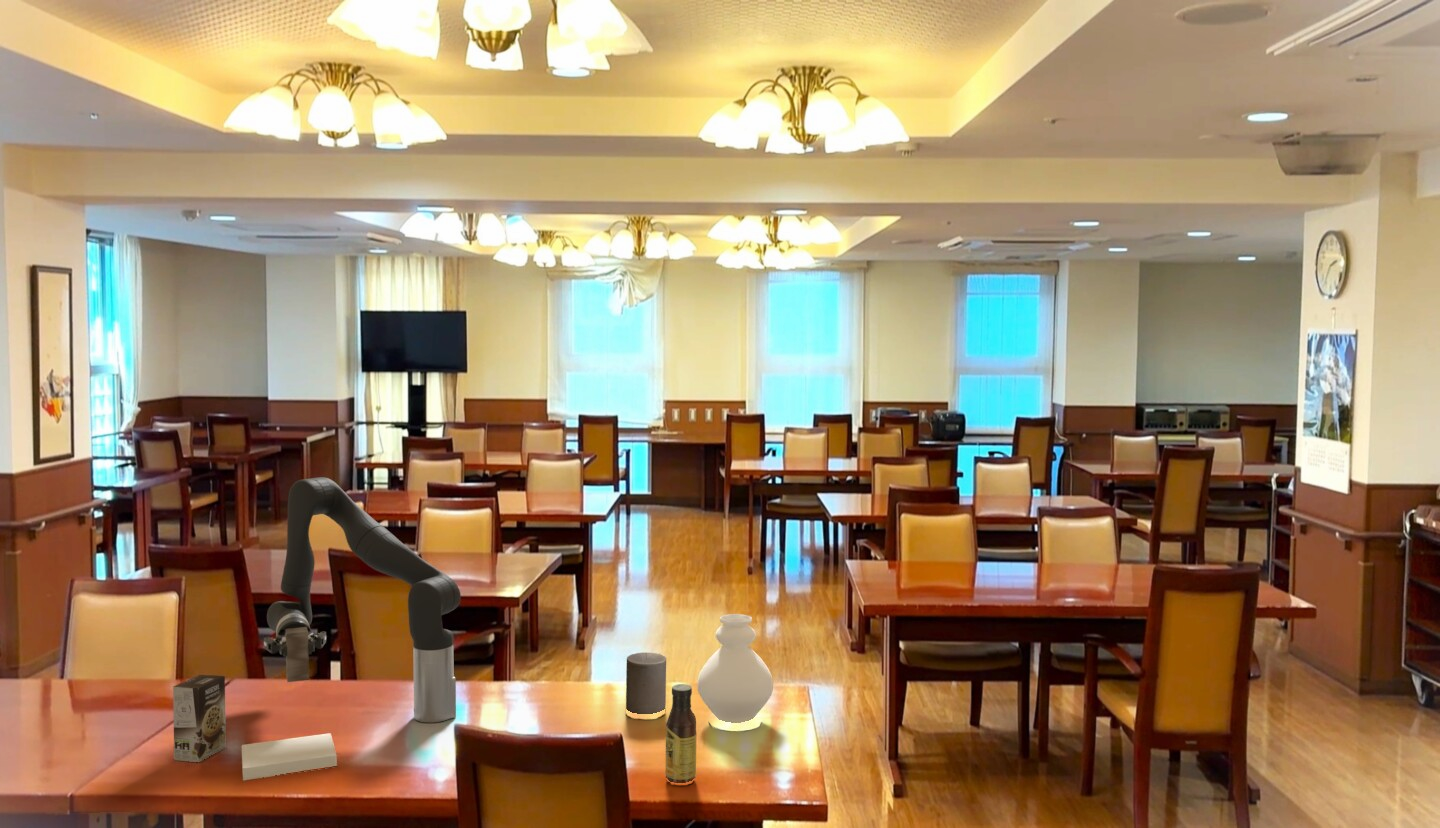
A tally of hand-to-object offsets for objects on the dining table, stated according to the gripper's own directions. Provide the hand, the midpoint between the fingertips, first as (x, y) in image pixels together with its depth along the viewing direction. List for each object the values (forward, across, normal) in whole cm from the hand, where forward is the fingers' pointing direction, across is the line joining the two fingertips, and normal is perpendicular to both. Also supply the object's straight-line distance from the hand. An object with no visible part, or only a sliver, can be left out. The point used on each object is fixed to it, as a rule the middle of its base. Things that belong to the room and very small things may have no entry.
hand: (297, 650), depth 242 cm
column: (-3, 0, +7) cm, 8 cm away
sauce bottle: (+57, +69, +20) cm, 92 cm away
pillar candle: (+16, +77, +20) cm, 81 cm away
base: (+14, -3, +20) cm, 24 cm away
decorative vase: (+30, +94, +20) cm, 101 cm away
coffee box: (+2, -20, +20) cm, 28 cm away
